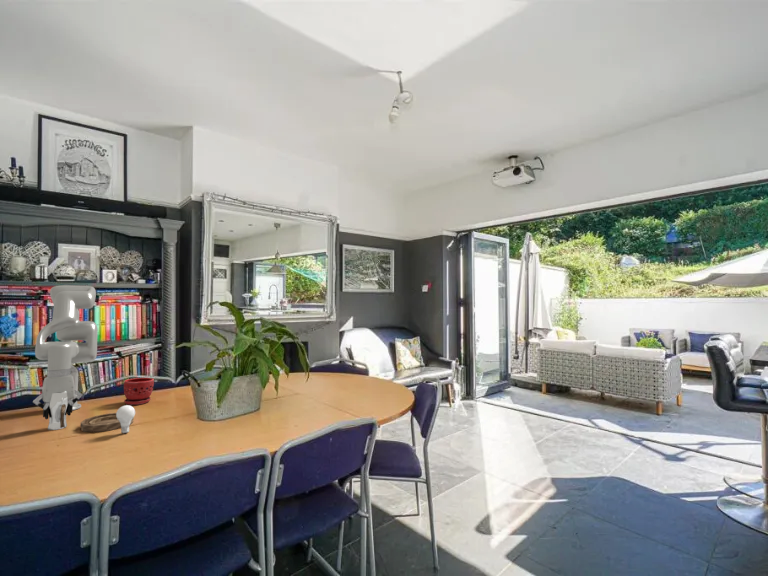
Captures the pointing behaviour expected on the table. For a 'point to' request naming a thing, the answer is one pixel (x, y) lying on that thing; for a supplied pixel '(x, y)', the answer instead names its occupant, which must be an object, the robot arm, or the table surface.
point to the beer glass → (58, 411)
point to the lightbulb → (125, 417)
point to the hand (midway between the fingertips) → (57, 416)
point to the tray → (101, 423)
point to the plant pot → (138, 390)
